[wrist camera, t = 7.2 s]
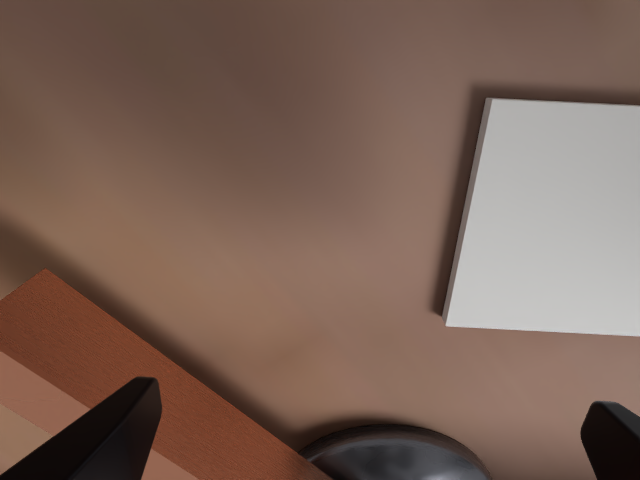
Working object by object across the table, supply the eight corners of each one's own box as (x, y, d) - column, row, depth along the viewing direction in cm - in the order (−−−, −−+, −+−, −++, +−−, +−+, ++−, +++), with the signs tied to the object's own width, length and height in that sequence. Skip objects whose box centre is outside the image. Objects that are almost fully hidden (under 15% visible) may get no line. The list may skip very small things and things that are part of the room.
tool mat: (844, 115, 11) (865, 118, 11) (724, 332, 14) (737, 341, 14) (486, 97, 11) (492, 99, 11) (441, 317, 14) (445, 326, 14)
